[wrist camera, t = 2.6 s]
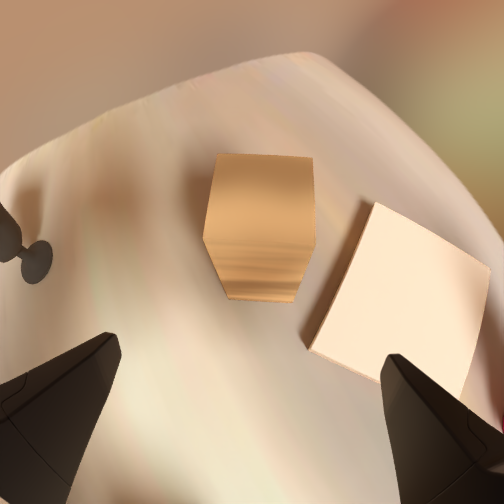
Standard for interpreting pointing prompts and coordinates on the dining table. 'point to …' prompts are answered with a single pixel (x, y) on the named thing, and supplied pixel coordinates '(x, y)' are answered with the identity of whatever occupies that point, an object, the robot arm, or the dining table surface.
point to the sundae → (23, 250)
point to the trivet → (405, 303)
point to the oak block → (261, 225)
